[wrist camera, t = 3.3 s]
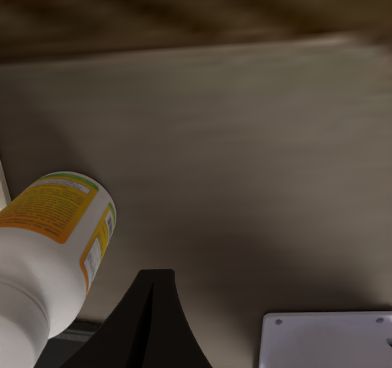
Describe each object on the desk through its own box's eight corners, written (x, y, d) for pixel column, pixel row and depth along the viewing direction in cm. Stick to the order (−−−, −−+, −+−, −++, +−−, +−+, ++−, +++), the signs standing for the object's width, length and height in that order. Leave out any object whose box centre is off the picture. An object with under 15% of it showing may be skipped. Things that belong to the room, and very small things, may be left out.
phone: (127, 409, 26) (-73, 388, 24) (130, 394, 27) (-62, 374, 25) (139, 336, 23) (-89, 308, 21) (141, 324, 24) (-76, 296, 22)
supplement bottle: (7, 197, 19) (-157, 330, 10) (79, 151, 18) (-32, 256, 9) (66, 261, 21) (-27, 423, 12) (135, 224, 20) (89, 370, 11)
